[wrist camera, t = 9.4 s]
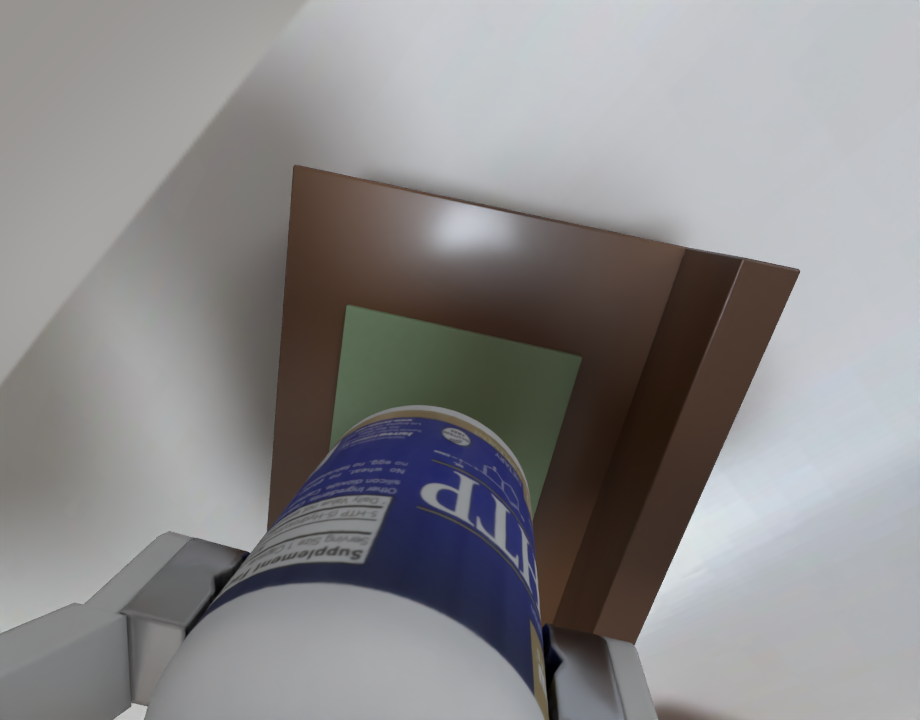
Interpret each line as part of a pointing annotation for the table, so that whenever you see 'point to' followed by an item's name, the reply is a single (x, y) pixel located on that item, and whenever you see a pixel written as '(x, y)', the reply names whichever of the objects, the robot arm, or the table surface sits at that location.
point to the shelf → (526, 366)
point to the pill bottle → (380, 590)
